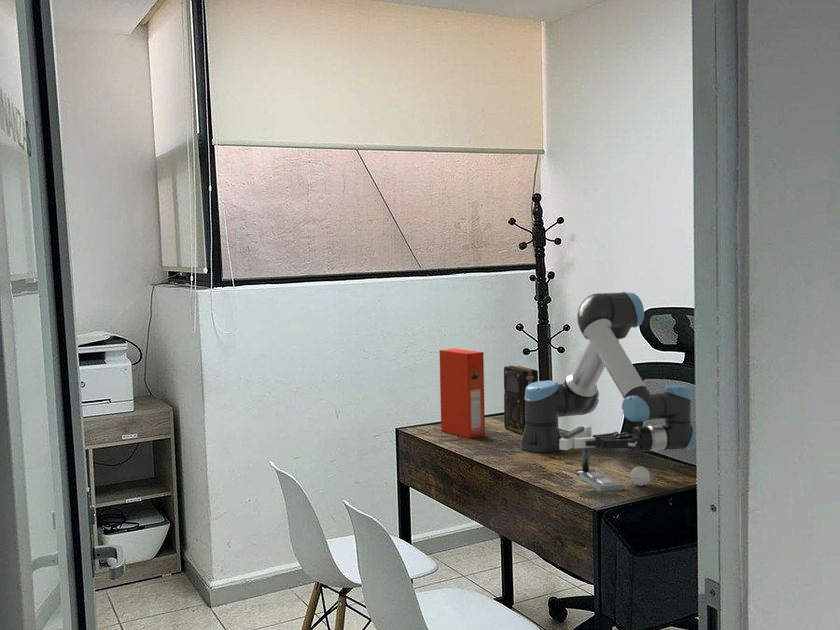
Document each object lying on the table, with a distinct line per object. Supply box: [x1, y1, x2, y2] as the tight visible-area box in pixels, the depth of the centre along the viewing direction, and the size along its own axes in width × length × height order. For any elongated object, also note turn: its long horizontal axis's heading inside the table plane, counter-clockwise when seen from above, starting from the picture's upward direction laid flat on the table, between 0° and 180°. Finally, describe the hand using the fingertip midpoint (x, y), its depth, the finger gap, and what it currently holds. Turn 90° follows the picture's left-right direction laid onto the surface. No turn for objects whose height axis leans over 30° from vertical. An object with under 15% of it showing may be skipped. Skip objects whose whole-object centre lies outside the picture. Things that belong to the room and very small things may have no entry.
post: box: [575, 448, 596, 477], centre depth 269 cm, size 6×6×11 cm
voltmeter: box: [503, 365, 539, 436], centre depth 335 cm, size 16×9×25 cm, turn 23°
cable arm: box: [559, 425, 592, 451], centre depth 261 cm, size 21×4×4 cm, turn 149°
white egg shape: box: [629, 466, 651, 487], centre depth 254 cm, size 8×6×6 cm
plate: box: [578, 470, 624, 492], centre depth 258 cm, size 16×7×2 cm, turn 11°
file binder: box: [439, 348, 486, 439], centre depth 332 cm, size 8×17×32 cm, turn 36°
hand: (573, 443), depth 254 cm, fingers closed
